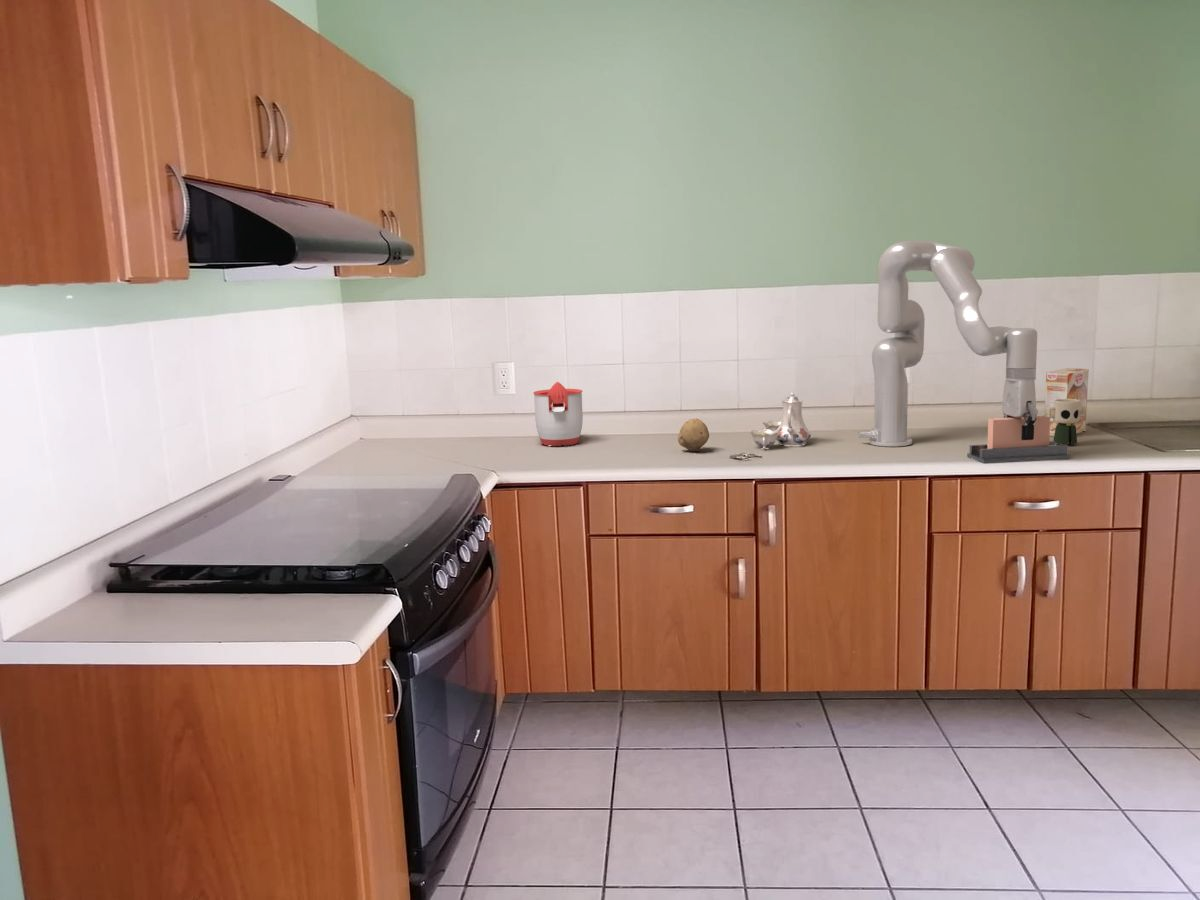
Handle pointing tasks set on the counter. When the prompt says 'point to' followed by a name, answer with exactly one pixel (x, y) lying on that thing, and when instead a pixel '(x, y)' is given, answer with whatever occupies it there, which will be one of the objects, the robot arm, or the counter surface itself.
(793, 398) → the chinaware
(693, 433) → the brown round lump
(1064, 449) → the door track
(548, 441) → the citrus juicer
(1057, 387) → the coffeecake box
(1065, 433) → the character mug
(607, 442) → the counter surface
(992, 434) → the door panel
